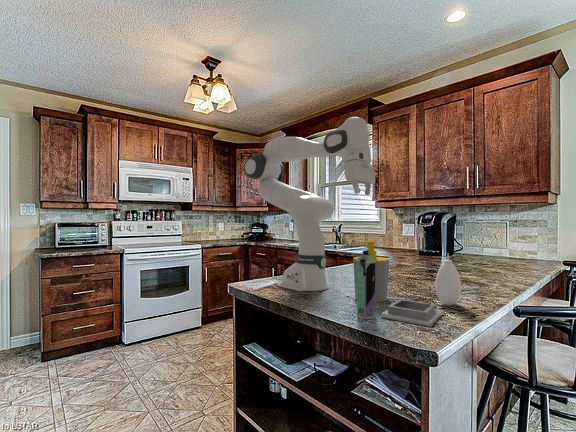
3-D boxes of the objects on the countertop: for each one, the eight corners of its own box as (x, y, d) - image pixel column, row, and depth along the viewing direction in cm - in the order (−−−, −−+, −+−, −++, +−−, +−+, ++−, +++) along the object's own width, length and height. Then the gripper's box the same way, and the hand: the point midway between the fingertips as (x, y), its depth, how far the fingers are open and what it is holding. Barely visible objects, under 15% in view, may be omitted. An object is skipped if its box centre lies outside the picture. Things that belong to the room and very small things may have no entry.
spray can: (375, 319, 96) (376, 251, 96) (356, 318, 97) (357, 250, 97) (374, 314, 101) (374, 249, 101) (356, 313, 102) (356, 249, 102)
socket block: (381, 317, 98) (381, 306, 98) (396, 307, 109) (396, 297, 109) (430, 326, 90) (430, 315, 90) (442, 314, 101) (442, 304, 101)
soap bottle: (352, 293, 130) (352, 239, 130) (386, 294, 128) (387, 240, 128) (353, 301, 117) (353, 242, 117) (391, 303, 115) (391, 242, 115)
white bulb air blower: (446, 300, 118) (446, 251, 118) (465, 306, 111) (466, 253, 111) (430, 303, 115) (430, 251, 115) (450, 308, 108) (450, 254, 108)
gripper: (362, 163, 137) (366, 196, 136) (339, 156, 120) (343, 193, 119) (377, 160, 133) (380, 194, 132) (355, 152, 117) (359, 191, 116)
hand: (362, 194), depth 126 cm, fingers open, 8 cm apart
